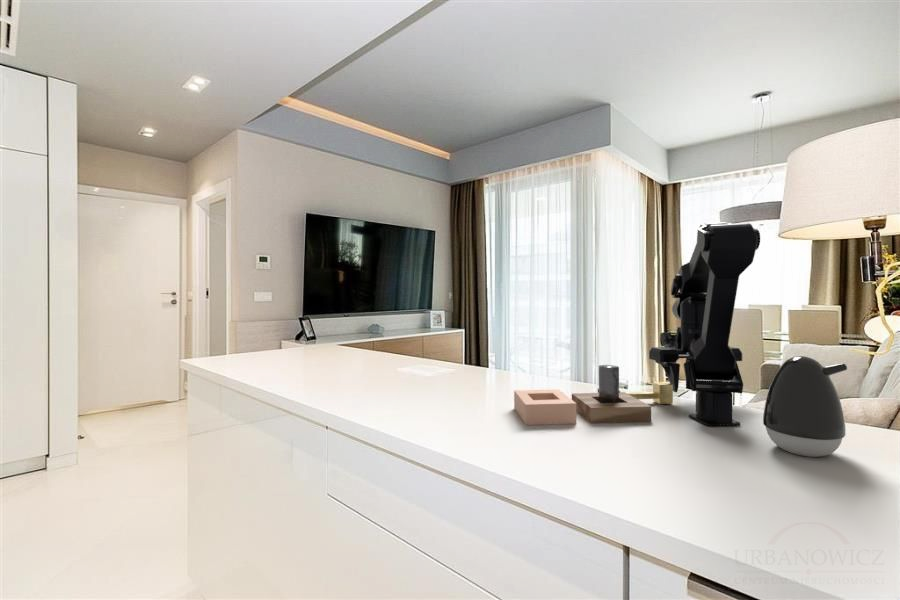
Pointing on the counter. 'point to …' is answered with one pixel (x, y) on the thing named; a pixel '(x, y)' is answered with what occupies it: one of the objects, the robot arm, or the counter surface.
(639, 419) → the socket block
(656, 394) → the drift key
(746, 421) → the counter surface
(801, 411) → the pump dispenser
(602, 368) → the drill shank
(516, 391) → the block
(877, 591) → the counter surface
